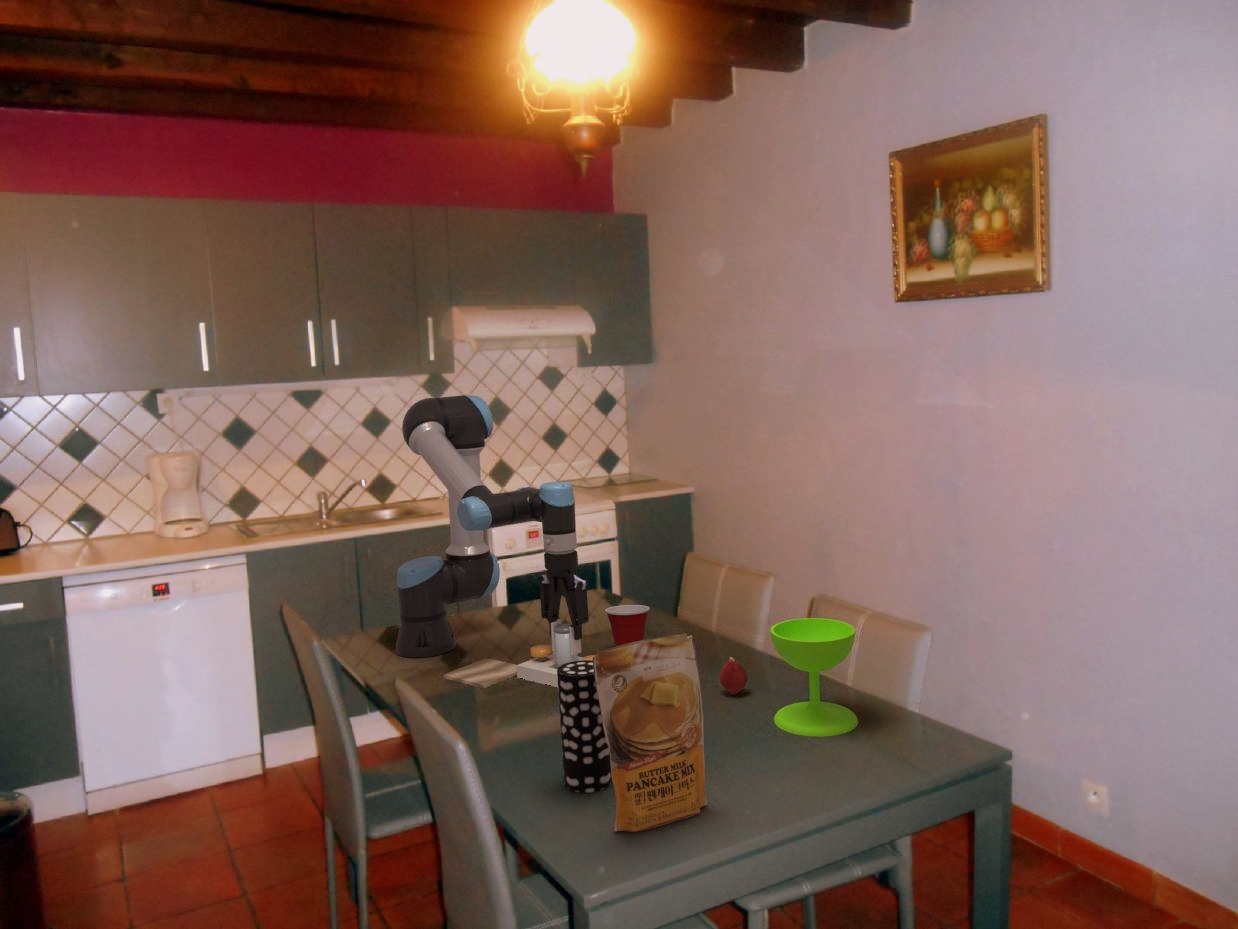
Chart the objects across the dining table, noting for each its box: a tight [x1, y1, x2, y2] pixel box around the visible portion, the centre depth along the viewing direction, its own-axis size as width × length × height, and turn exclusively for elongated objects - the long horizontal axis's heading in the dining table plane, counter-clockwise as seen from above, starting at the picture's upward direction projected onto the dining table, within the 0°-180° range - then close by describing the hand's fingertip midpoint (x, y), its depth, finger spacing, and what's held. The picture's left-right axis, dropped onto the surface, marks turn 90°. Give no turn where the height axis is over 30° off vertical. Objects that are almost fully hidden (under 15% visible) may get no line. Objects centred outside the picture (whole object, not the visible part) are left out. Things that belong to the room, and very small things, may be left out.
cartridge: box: [554, 623, 579, 668], centre depth 213 cm, size 5×5×12 cm
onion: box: [718, 656, 748, 696], centre depth 196 cm, size 6×6×8 cm
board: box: [442, 657, 518, 689], centre depth 219 cm, size 14×14×1 cm
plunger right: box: [582, 654, 596, 660], centre depth 208 cm, size 5×5×4 cm
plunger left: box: [530, 644, 553, 663], centre depth 218 cm, size 5×5×4 cm
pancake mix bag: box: [592, 631, 708, 833], centre depth 144 cm, size 7×19×28 cm, turn 116°
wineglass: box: [769, 617, 859, 738], centre depth 180 cm, size 16×16×18 cm
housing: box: [516, 651, 583, 688], centre depth 213 cm, size 21×12×3 cm, turn 51°
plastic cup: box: [604, 604, 651, 647], centre depth 227 cm, size 11×11×12 cm
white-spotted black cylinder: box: [557, 660, 613, 794], centre depth 158 cm, size 8×8×20 cm
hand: (566, 651), depth 213 cm, fingers closed on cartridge, 5 cm apart
